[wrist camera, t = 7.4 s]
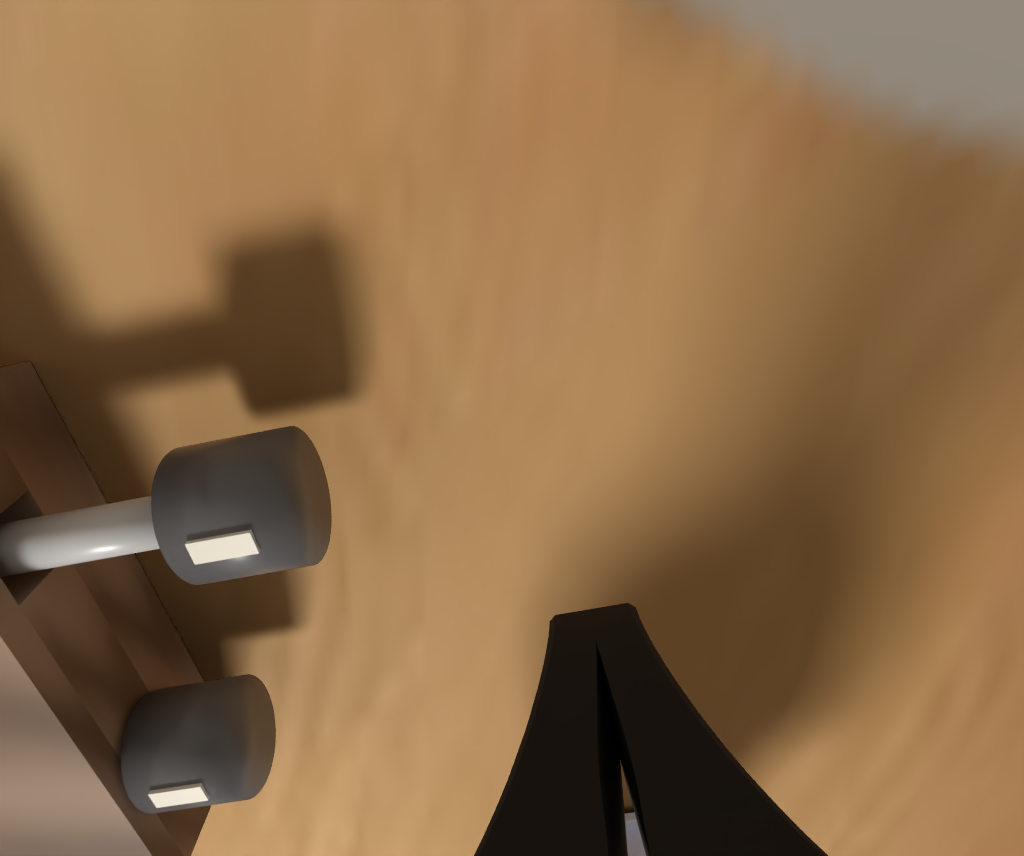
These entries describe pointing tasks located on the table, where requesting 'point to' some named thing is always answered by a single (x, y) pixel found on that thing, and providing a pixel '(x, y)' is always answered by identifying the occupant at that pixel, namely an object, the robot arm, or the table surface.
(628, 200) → the table surface
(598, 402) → the table surface
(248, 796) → the knob
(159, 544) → the knob
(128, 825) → the mount
